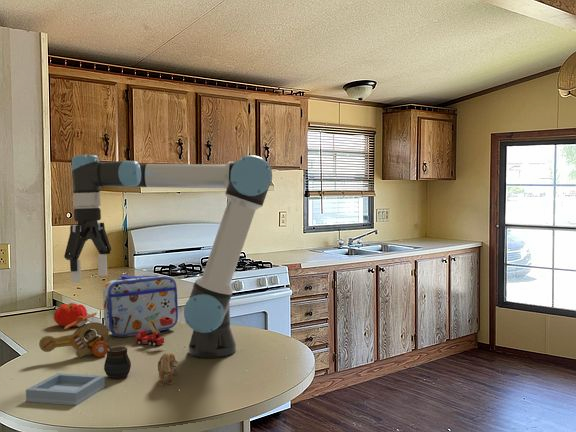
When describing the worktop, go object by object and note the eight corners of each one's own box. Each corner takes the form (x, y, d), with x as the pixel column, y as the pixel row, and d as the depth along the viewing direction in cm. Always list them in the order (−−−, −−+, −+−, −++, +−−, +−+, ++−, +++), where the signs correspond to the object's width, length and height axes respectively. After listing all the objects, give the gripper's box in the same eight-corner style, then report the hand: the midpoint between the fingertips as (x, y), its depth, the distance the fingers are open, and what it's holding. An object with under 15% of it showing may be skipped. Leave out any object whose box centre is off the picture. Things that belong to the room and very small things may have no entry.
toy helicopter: (112, 355, 178) (111, 312, 177) (42, 367, 166) (40, 321, 166) (105, 349, 185) (104, 308, 184) (37, 360, 173) (36, 316, 173)
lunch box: (106, 341, 195) (104, 279, 194) (99, 335, 204) (97, 275, 203) (180, 330, 209) (179, 272, 209) (171, 324, 218) (169, 269, 217)
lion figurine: (178, 388, 147) (178, 354, 146) (158, 390, 145) (157, 356, 145) (176, 371, 161) (176, 340, 160) (158, 372, 160) (157, 341, 159)
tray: (105, 387, 148) (104, 375, 148) (76, 405, 135) (76, 393, 135) (58, 383, 151) (58, 373, 151) (26, 401, 138) (25, 389, 138)
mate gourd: (136, 373, 160) (135, 338, 159) (122, 381, 152) (121, 345, 152) (113, 371, 161) (112, 337, 161) (98, 380, 154) (97, 344, 153)
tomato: (49, 325, 219) (48, 304, 219) (80, 320, 228) (79, 300, 228) (61, 331, 210) (60, 309, 210) (93, 325, 219) (92, 304, 218)
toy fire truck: (140, 341, 194) (139, 314, 194) (173, 345, 189) (172, 316, 189) (134, 344, 191) (133, 316, 191) (167, 347, 186) (167, 319, 185)
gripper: (99, 206, 177) (102, 272, 178) (48, 209, 153) (52, 285, 154) (120, 206, 176) (123, 272, 176) (72, 208, 151) (76, 286, 152)
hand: (90, 278), depth 165 cm, fingers open, 13 cm apart
